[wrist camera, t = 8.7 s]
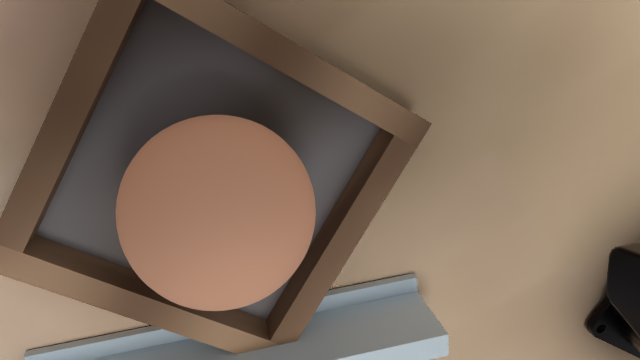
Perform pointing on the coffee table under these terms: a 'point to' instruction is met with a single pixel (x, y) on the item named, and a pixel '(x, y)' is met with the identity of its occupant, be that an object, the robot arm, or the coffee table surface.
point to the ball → (215, 212)
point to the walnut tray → (175, 106)
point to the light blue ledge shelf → (315, 341)
